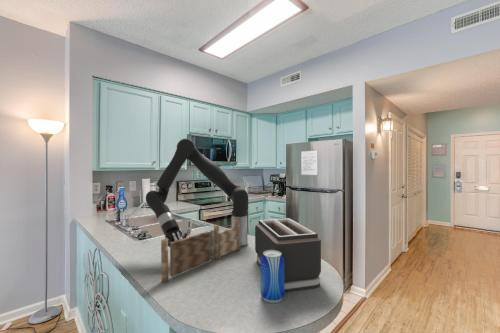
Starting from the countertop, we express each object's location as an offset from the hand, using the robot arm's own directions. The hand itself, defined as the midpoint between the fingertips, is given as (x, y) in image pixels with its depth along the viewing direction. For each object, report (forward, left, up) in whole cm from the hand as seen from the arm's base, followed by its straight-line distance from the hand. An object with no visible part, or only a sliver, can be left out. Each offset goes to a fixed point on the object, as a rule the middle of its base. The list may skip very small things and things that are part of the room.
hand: (183, 253), depth 111 cm
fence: (-11, -2, -6) cm, 13 cm away
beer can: (-36, +30, -6) cm, 47 cm away
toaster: (-46, +9, -6) cm, 47 cm away
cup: (+7, -53, -6) cm, 54 cm away
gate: (-6, +3, -5) cm, 8 cm away
